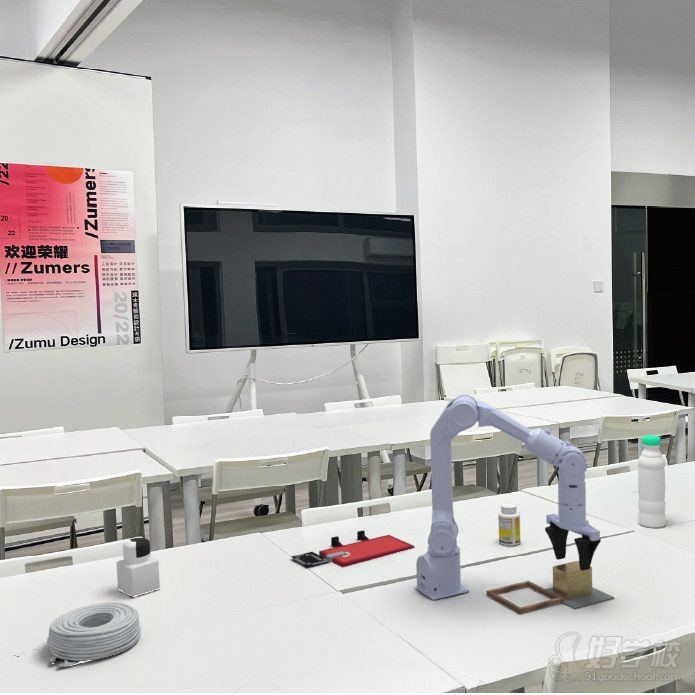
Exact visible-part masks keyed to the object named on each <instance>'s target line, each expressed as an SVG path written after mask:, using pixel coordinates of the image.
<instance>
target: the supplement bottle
mask: <svg viewBox="0 0 695 695" xmlns="http://www.w3.org/2000/svg"><path fill="white" fill-rule="evenodd" d="M497 515H498V516H497V518H498V542H499V543H500V545H503V546H507V547H516V546H518V545H519V544H521V517H520V516H521V515H520V512H518V511H517V505H516V504H515V503H502V504H501V505H500V511H499V512H498V514H497Z"/></svg>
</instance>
